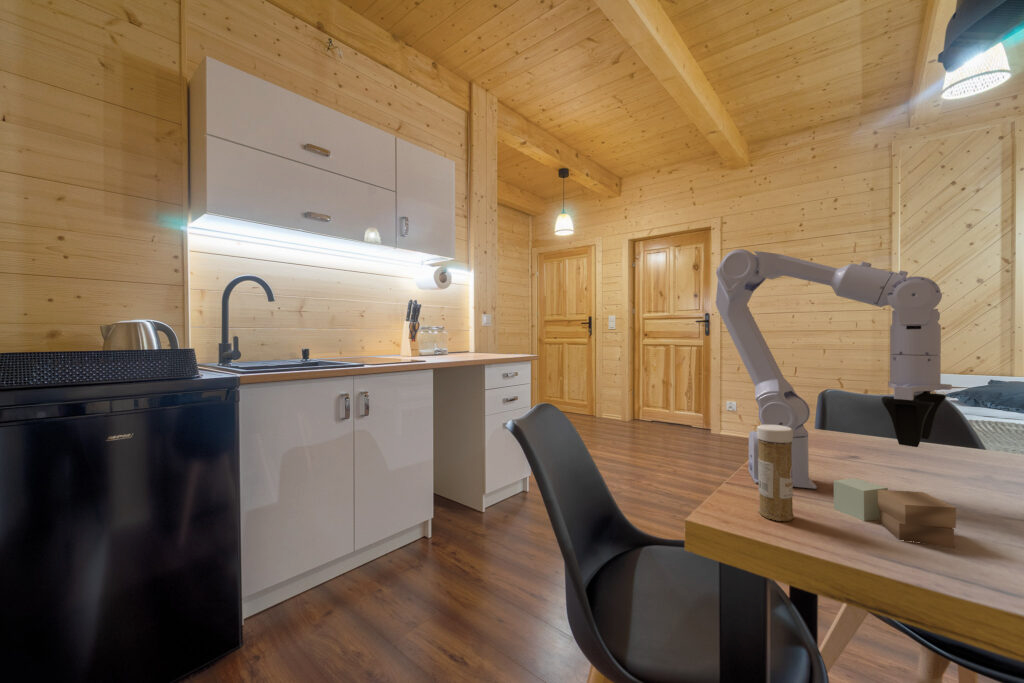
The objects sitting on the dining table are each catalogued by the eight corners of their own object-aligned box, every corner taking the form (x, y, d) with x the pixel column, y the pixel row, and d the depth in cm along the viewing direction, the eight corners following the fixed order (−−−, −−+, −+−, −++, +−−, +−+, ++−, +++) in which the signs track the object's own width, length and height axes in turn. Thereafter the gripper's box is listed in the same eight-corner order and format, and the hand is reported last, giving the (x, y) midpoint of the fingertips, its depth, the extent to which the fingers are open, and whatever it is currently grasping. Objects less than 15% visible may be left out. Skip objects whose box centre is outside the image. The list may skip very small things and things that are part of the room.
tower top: (905, 524, 55) (905, 504, 55) (877, 507, 60) (877, 489, 60) (955, 528, 54) (955, 507, 54) (923, 510, 59) (923, 492, 59)
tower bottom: (899, 543, 55) (899, 523, 55) (879, 525, 60) (879, 507, 60) (954, 549, 53) (953, 529, 53) (929, 530, 58) (928, 512, 58)
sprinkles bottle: (798, 524, 60) (797, 430, 60) (762, 520, 62) (761, 429, 62) (788, 511, 65) (787, 424, 65) (754, 508, 66) (753, 422, 66)
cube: (864, 521, 61) (863, 490, 61) (833, 509, 65) (833, 480, 65) (887, 518, 62) (887, 487, 62) (856, 506, 66) (856, 478, 66)
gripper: (942, 357, 58) (941, 455, 58) (959, 353, 67) (959, 439, 67) (876, 355, 64) (875, 445, 64) (899, 352, 72) (899, 431, 73)
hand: (914, 441), depth 66 cm, fingers open, 7 cm apart
